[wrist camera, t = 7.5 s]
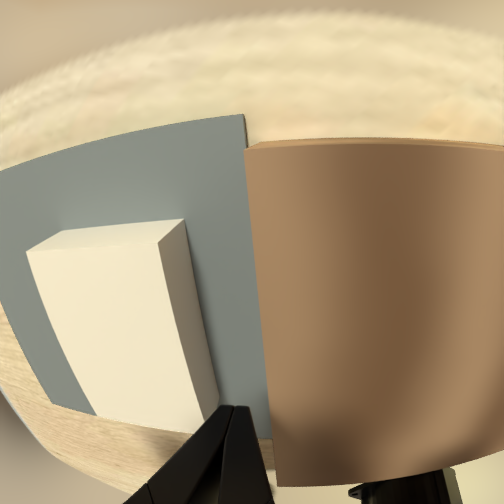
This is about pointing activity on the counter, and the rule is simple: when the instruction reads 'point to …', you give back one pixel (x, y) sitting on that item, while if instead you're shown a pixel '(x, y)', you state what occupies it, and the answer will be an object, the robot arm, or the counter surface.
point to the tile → (130, 321)
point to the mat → (135, 211)
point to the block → (379, 304)
